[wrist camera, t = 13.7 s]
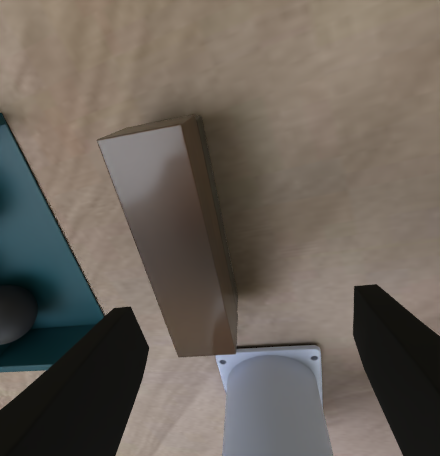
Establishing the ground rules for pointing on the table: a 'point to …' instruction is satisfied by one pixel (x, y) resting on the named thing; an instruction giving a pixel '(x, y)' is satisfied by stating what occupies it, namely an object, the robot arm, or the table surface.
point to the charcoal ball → (16, 312)
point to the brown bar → (177, 229)
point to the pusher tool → (38, 267)
